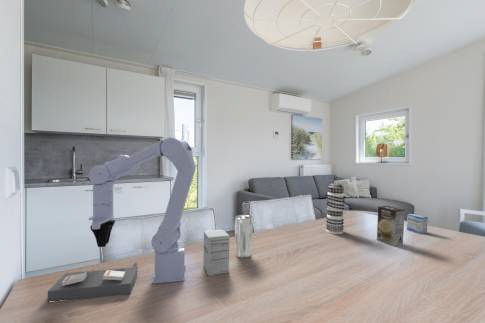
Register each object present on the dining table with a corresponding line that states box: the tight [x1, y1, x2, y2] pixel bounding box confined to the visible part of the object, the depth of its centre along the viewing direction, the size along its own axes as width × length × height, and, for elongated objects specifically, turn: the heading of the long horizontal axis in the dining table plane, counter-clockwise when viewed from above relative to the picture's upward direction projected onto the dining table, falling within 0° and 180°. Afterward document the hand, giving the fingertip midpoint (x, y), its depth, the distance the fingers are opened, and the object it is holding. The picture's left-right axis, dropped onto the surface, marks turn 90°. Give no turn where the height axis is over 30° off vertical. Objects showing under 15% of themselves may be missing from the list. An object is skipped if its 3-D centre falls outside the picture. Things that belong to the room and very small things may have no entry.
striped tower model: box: [325, 182, 346, 235], centre depth 128 cm, size 9×9×25 cm
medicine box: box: [406, 213, 429, 235], centre depth 131 cm, size 8×4×9 cm, turn 25°
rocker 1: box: [61, 271, 87, 286], centre depth 68 cm, size 5×3×1 cm, turn 103°
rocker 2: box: [103, 269, 125, 280], centre depth 70 cm, size 5×3×1 cm, turn 104°
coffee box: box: [376, 205, 406, 247], centre depth 113 cm, size 9×6×16 cm
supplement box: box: [203, 228, 230, 276], centre depth 84 cm, size 7×7×13 cm
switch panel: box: [47, 262, 138, 302], centre depth 75 cm, size 20×18×3 cm
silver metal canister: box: [234, 214, 253, 259], centre depth 96 cm, size 7×7×15 cm
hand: (103, 245), depth 79 cm, fingers open, 2 cm apart
